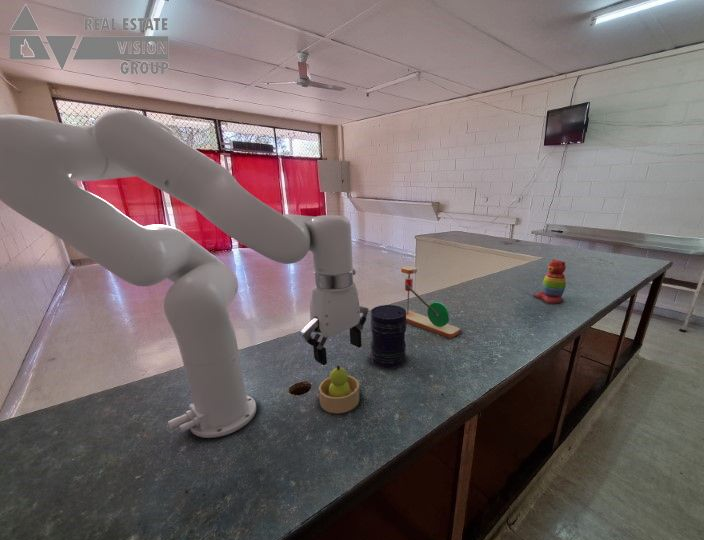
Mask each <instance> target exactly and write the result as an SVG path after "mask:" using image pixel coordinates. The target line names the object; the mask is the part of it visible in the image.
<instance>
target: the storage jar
mask: <svg viewBox="0 0 704 540" xmlns="http://www.w3.org/2000/svg"><path fill="white" fill-rule="evenodd" d="M406 310H407V309H406V308H404V307H402V306H399V305H393V304H382V305H378V306H375V307H373V308H372V309H371V310H370V331H371V341H370V356H371V357H370V358H371V359H370V360H371V363H372V364H373V365H374V366H375V367H378V368H380V369H396V368H399V367H401V366H402V365H403V364H404V363H405V360H406V357H405V356H406V350H407V349H406V347H407V345H406V344H407V343H406V341H405V340H406V339H405V338H406V332H407V322H406Z"/></svg>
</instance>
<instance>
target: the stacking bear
mask: <svg viewBox="0 0 704 540" xmlns="http://www.w3.org/2000/svg"><path fill="white" fill-rule="evenodd" d="M566 267H567V266H566V262H565V261H563V260H559V259H558V260H556V259H555V258H554V259H552V260H551V262H549V264H548V265H547V271H548V272H547V273H546V274H545V276H544V278H543V280H542V283H541V284H542V285H541V289H542V291H539V292H536V293H535V295H534V297H535V298H537V299H541V300H543V301H545V303H547V304H558V303H561V302H562V301H563V295H564V293H565V290H566V286H567V280H566V275H565V274H564V272H565V271H566Z"/></svg>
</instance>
